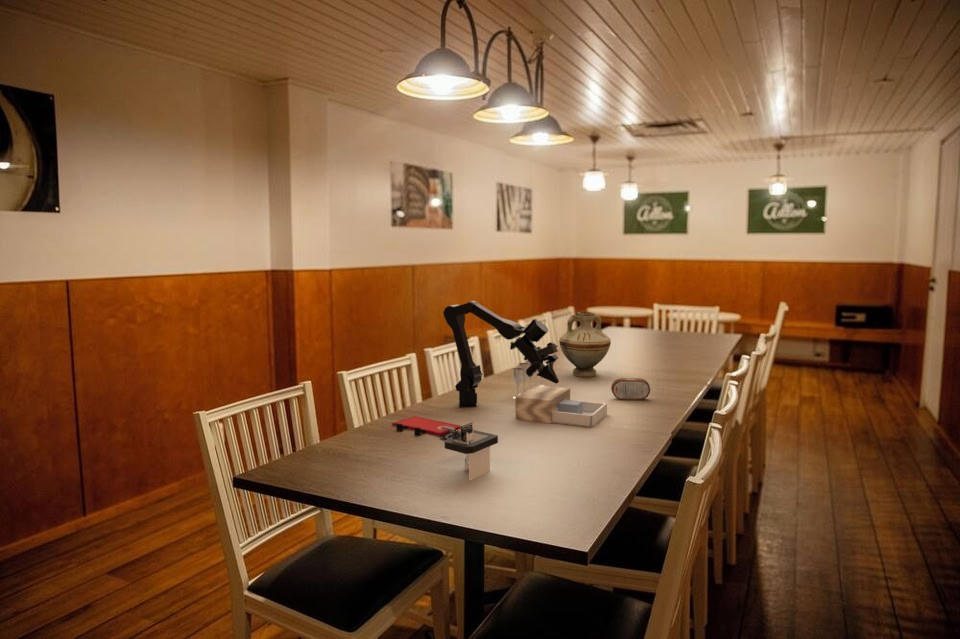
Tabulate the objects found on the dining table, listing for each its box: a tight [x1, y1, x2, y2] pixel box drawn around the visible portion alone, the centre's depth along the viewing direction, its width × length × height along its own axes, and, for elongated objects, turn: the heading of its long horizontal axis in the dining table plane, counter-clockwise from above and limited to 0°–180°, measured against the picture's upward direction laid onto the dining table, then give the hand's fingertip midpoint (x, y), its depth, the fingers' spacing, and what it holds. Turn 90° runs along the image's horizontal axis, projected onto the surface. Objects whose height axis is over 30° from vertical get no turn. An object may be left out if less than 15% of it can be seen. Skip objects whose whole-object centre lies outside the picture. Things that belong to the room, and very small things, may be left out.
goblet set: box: [511, 360, 546, 400], centre depth 261 cm, size 28×6×13 cm, turn 150°
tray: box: [552, 399, 608, 428], centre depth 220 cm, size 15×18×4 cm
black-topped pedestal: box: [444, 421, 499, 481], centre depth 169 cm, size 28×26×13 cm
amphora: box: [558, 311, 612, 378], centre depth 291 cm, size 24×24×30 cm
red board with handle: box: [391, 416, 461, 440], centre depth 209 cm, size 30×3×15 cm
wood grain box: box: [514, 384, 571, 424], centre depth 226 cm, size 13×20×8 cm
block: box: [558, 399, 584, 414], centre depth 222 cm, size 5×6×7 cm
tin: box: [610, 377, 651, 401], centre depth 246 cm, size 15×3×8 cm, turn 84°
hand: (557, 382), depth 223 cm, fingers closed
